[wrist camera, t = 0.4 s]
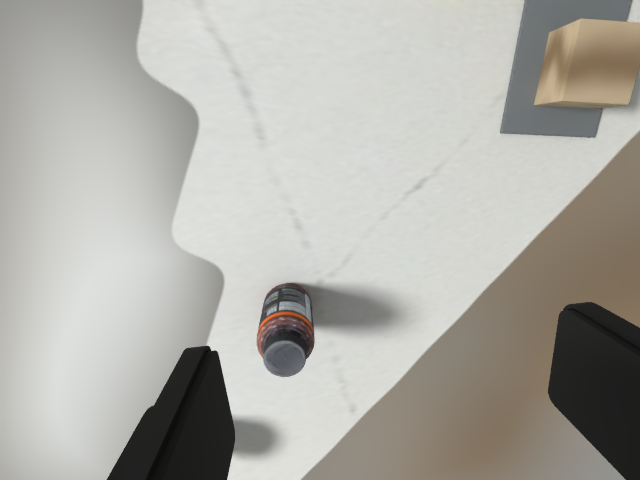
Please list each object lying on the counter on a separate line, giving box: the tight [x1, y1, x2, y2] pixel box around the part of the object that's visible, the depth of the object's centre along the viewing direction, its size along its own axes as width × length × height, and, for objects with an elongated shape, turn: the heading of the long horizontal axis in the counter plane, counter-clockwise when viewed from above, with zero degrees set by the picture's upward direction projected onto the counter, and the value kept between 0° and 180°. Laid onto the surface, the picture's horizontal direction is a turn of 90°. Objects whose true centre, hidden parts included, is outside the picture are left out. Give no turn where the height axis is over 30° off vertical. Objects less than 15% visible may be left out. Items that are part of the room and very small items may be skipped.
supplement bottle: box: [257, 284, 314, 377], centre depth 36 cm, size 6×6×11 cm
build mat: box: [500, 0, 631, 137], centre depth 35 cm, size 15×11×1 cm
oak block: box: [534, 18, 640, 109], centre depth 33 cm, size 7×7×4 cm
